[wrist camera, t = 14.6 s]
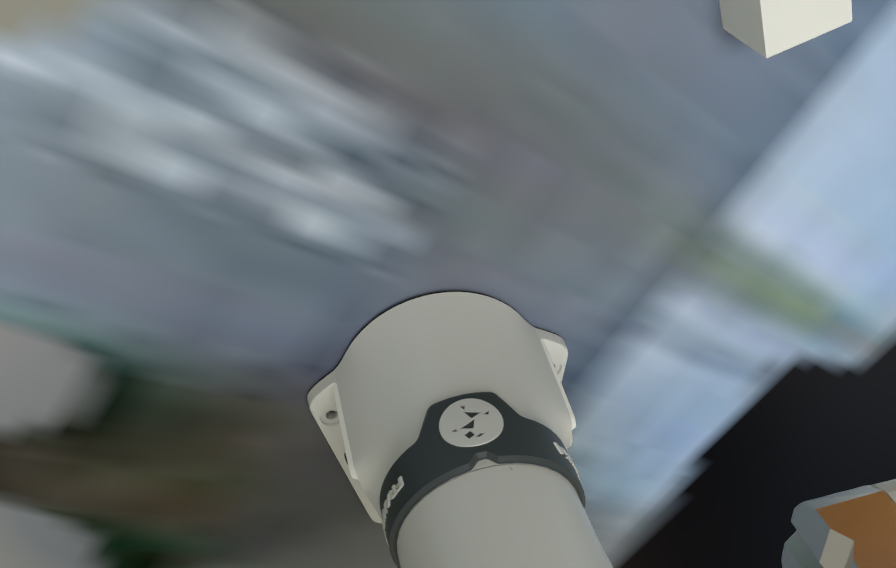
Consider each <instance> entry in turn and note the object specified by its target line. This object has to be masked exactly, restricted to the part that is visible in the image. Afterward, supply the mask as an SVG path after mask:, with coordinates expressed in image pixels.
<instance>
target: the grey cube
mask: <svg viewBox="0 0 896 568" xmlns="http://www.w3.org/2000/svg"><path fill="white" fill-rule="evenodd" d="M719 4H720V11H721V17H722V24H723V29H724V30H726V31H727V32H729V33H730V34H732V35H733V36H734V37H736V38H737V39H739V40H740V41H742V42H743V43H745V44H746V45H748V46H749V47H751V48H752V49H753V50H755V51H756V52H758V53H759V54H761V55H762V56H764V57H765V58H769V57H771V56H773V55H776V54H778V53H780V52H782V51H785V50H787V49H789V48H792V47H794V46H796V45H798V44H801V43H803V42H805V41H808V40H810V39H812V38H815V37H817V36H819V35H821V34H824V33H826V32H828V31H831V30H833V29H835V28H838V27H840V26H842V25H844V24H847V23H849V22H851V21H852V4H851V0H719Z"/></svg>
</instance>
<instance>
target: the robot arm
mask: <svg viewBox="0 0 896 568" xmlns="http://www.w3.org/2000/svg"><path fill="white" fill-rule="evenodd" d="M567 358H568V350H567V347H566V344H565V341H564V340H563V339H562V338H561V337H560V336H558V335H556V334H553V333H550V332H547V331H544V330H541V329H537V328H534V327H533V326H531V325H530V324H529V323H528V322H526V321H525V320H524V319H523V318H522V317H521V316H520V315H519V314H518V313H517V312H516V311H515V310H514V309H512V308H511V307H509V306H508V305H506V304H504V303H503V302H500V301H498V300H496V299H494V298H491V297H488V296H484V295H480V294H475V293H467V292H444V293H436V294H431V295H426V296H422V297H419V298H415V299H412V300H409V301H407V302H404V303H402V304H400V305H398V306H396V307H394V308H392V309H390V310H388V311H386V312H385V313H383V314H382V315H380V316H379V317H377V318H376V319H375V320H373V321H372V322H371V323H370V324H369V325H367V326H366V327H365V328H364V329H363V330H362V331H361V332H360V333H359V335H358V336H357V337H356V338H355V339H354V341H353V342H352V343H351V345H350V346H349V348H348V350H347V352H346V353H345V355H344V357H343V359H342V360H341V362H340V363H339V365H338V366H337V368H336V369H335V370H334V371H333V372H331V373H330V374H329V375H327V376H326V377H325V378H323V379H322V380H321V381H320V382H319V383H317V384H316V385H315V386H314V387H313V388H312V389H311V390H310V392H309V393H308V396H307V401H308V404H309V408H310V411H311V413H312V415H313V417H314V418H315V420H316V422H317V424H318V425H319V427H320V429H321V431H322V433H323V434H324V436H325V438H326V440H327V441H328V443H329V445H330V447H331V449H332V450H333V452H334V454H335V456H336V457H337V459H338V461H339V463H340V465H341V466H342V468H343V470H344V472H345V473H346V475H347V477H348V479H349V481H350V482H351V484H352V486H353V488H354V490H355V491H356V493H357V495H358V497H359V498H360V500H361V502H362V504H363V506H364V507H365V509H366V511H367V513H368V514H369V516H370V517H371V519H372V520H373V521H374V522H377V523H382V528H383V532H384V536H385V540H386V543H387V546H388V547H389V549H390V552H391V555H392V558H393V560H394V562H395V564H396V565H397V567H398V568H613V566H612V565H611V563H610V561H609V559H608V557H607V555H606V553H605V551H604V549H603V547H602V545H601V543H600V541H599V539H598V537H597V535H596V533H595V531H594V529H593V527H592V525H591V523H590V521H589V518H588V516H587V514H586V512H585V510H584V509H585V496H584V491H583V489H582V486H581V483H580V481H579V480H580V477H579V473H578V471H577V469H576V466H575V464H574V462H573V460H572V458H571V456H569V454H568V452H567V449H568V447H571V446H572V444H573V436H572V430H573V429H575V427H576V421H575V417H574V414H573V412H572V409H571V406H570V404H569V401H568V399H567V396H566V394H565V391H564V389H563V386H562V384H561V382H562V378H563V374H564V370H565V366H566V362H567ZM329 411H334V412H329ZM791 522H792V523H793V525H794V526H795V528H796V529H797V531H796V532H795V533H794V534H793V535H792V536H791V538H789V539H788V540H787V541H786V542H785V545H784V550H783V555H782V565H783V568H896V479H894V480H890V481H886V482H882V483H878V484H874V485H871V486H868V485H867V486H863V487H859V488H855V489H851V490H848V491H844V492H840V493H836V494H832V495H829V496H825V497H821V498H817V499H813V500H809V501H806V502H802V503H801V504H799V505H798V506H797V507H796V508H795V509H794V512H793V515H792V519H791Z"/></svg>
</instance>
